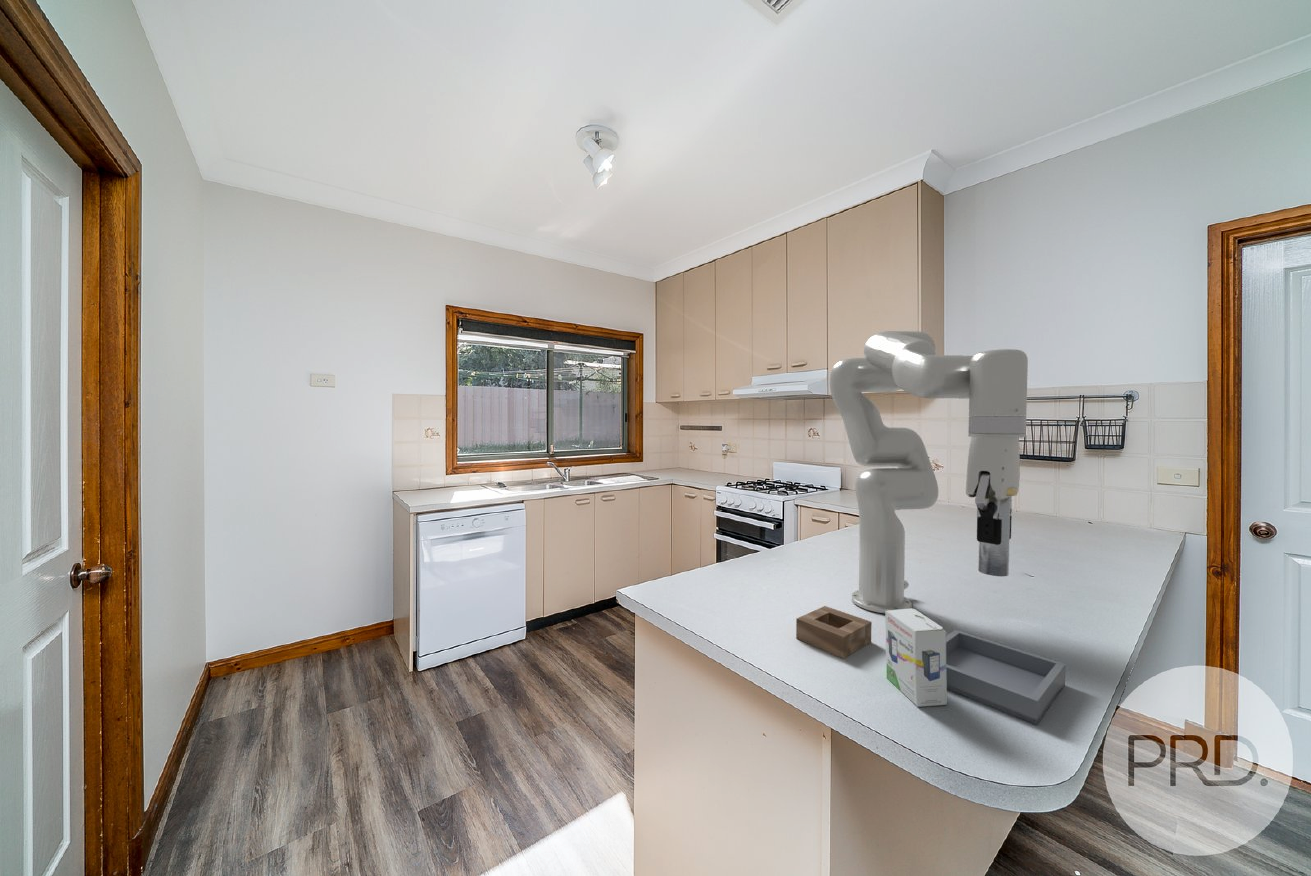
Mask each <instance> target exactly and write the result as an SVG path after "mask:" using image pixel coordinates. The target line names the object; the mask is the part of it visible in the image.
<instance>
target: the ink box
mask: <svg viewBox="0 0 1311 876" xmlns="http://www.w3.org/2000/svg"><path fill="white" fill-rule="evenodd" d="M885 612H886V614H885V656H886V657H885V660H886V661H885V664H886V665H885V666H886V679H887V680H888V681H890V683H891V684H893V686H895V687H896V688H897V689H898V690H899V691H900V692H901V693H902V694H904V696H905V697H907V698H908V699H909V700H910V701H911V702H912V703H913V704H914V705H916V708H917V707H932V706H945V705H946V706H947V705H948V698H947V697H948V693H947V692H948V691H947V690H948V689H947V678H946V636H947V631H946V630H945V629H944V628H943V627H942V625H939V624H938V623H937V622H935V621H934V620H932V619H931V618H929V617H928V616H925V615H924V614H923V613H921V612H920V611H919V610H917V609H915V608H911V609H898V610H886V611H885Z"/></svg>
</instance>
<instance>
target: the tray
mask: <svg viewBox="0 0 1311 876" xmlns="http://www.w3.org/2000/svg"><path fill="white" fill-rule="evenodd" d="M1066 666H1067V665H1066V663H1063V662H1060V661H1056V660H1054V659H1051V658H1047V657H1045V656H1042V655H1038V654H1035V653H1032V652H1029V651H1026V650H1022V649H1018V648H1015V647H1012V646H1010V645H1009V646H1008V645H1005V644H1002V643H1001V642H1000V643H999V642H996V641H993V640H990V639H987V638H984V637H980V636H977V635H974V634H971V633H967V632H964V631H961V630H958V629H954V630H953V631H951V632H950V633H948V634H946V678H947V690H949V691H952V692H954V693H955V694H958V695H962V696H963V697H966V698H968V699H971V700H973V701H976V702H978V703H981V704H983V705H986V706H989V707H991V708H993V709H995V710H998V711H1000V712H1003V713H1005V714H1008V715H1011V716H1012V717H1015V718H1018V719H1020V720H1022V721H1025V722H1028V723H1030V724H1032V725H1035V726H1037V725H1038V724H1039V723H1040V721H1041V720H1042V719H1043V717H1044V716H1045V714H1046V713H1047V712H1048V710H1049V708H1050V707H1051V706H1052V704H1053V703H1054V702H1055V700H1056V699H1057V697H1058V696H1059V695H1060V694H1061V692H1062V691H1063V689H1064V687H1065V686H1066Z"/></svg>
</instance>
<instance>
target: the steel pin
mask: <svg viewBox="0 0 1311 876" xmlns="http://www.w3.org/2000/svg"><path fill="white" fill-rule="evenodd" d="M977 490H978V487H977ZM976 492H977V491H976ZM1017 495H1018V493H1017V488H1012V489H1008V492H1007V495H1006V496H1012V497H1014V496H1017ZM988 498H990V499H996V497H994V495H988ZM989 503H990V502H989ZM991 504H992V506H993V509H994V503H991ZM999 519H1002V536H1001V544H999V545H995V544H990V543H984V542H979V541H978V567H977V568H978V569H977V570H978V572H979V573H981V574H983V575H987V576H993V577H994V576H995V577H1008V576H1009V574H1010V573H1009V571H1010V539H1009V537H1010V497H1008V498H1005V499H1003V500H1001V504H1000V515H999Z"/></svg>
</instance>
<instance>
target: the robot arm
mask: <svg viewBox="0 0 1311 876" xmlns="http://www.w3.org/2000/svg"><path fill="white" fill-rule="evenodd" d="M936 350H937V349H936V343H935V341H934V339H933V337H932V336H930V335H929V334H928V333H926V332H923V331H919V330H918V331H917V330H916V331H914V330H911V331H910V330H909V331H908V330H907V331H906V330H905V331H903V330H886V331H880V332H877V333H875V334H873V335H872V336H870V338H868V339H867V341H866V342H865V344H864V347H863V353H864V354H863V355H864V357H851V358H846V359H843V360H840V361H838V362H836V363H835V364H834V365H833V367H832V368H831V371H830V373H829V391H830V395H831V397H832V400H833V402H834V404H835V406H836V409H837V410H838V412H839V414H840V416H841V418H842V420H843V424H844V428H845V431H846V435H847V439H848V443H849V445H850V449H851V450H850V451H851V453H852V456H853V459H854V460H855V462H856V463H857V464H858V465H860V466H861V467H862V466H863V467H869V468H871V467H872V469H867V470H865V471H863V472H861V473H860V474H859V475H858V476H857V477H856V480H855V488H854V489H855V495H856V501H857V507H858V519H859V520H858V521H859V530H858V531H859V542H858V543H859V545H858V546H859V547H858V549H859V552H858V554H859V555H858V561H859V562H858V590H855V591H854V592H852V593H851V601H852V602H853V603H854V604H855V605H856V606H858V607H860V608H862V609H864V610H867V611H871V612H873V613H880V614H885V615H886V612H885V611H886V610H898V609H913V608H912V601H911V600H909V599H908V597H905V589H908V588H909V586H910V584H909V582H908V581H907V580H905V558H906V556H905V554H906V553H905V552H906V551H905V550H906V547H905V546H906V532H905V527H904V525H903V523H902V521H901V520H900V518H899V517H898V515H897V514H896V511H901V510H903V511H905V510H924V509H929V508H931V507H933V506H934V505H935V504H936V503H937V501H938V497H939V486H938V485H939V484H938V481H937V477H936V474H935V471H934V469H933V466H932V463H931V460H930V458H929V454H928V451H927V449H926V446H925V444H924V441H923V439H922V437H921V436H920V435H919V434H918V432H916V431H914V430H913V429H911V428H908V427H889V426H886V425H885V424H884V422H883V420H882V416H881V413H880V411H879V408H878V407H877V406H876V405H875V404H874V402H873V401H871V400H870V399H869V398H868V397H866V396H865V394H863V393H892V392H893V393H894V392H897V391H900V390H902V391H904V392H906V393H908V394H911V395H912V396H915V397H919V398H922V399H923V398H924V399H962V400H963V399H967V400H968V399H969V400H968V436H967V437H971V439H970V443H969V449H968V455H967V456H968V457H967V465H966V466H967V468H966V482H965V495H966V496H967V497H968V498H975V499H974V502H975V505H976V522H977V523H976V541H977V542H978V543H979V542H984V543H990V544H995V545H999V544H1001V536H1002V519H999V515H1000V504H1001V500H1003V499H1005V498H1008V497H1010V537H1009V540H1010V539H1011V538H1012V519H1013V518H1012V513H1013V512H1012V511H1013V509H1012V501H1013V499H1012V497H1013V496H1006V495H1007V492H1008V489H1012V488H1017V494H1018V492H1019V490H1020V489H1019V488H1020V479H1021V478H1020V475H1021V468H1020V467H1021V465H1020V464H1021V463H1020V462H1021V458H1020V449H1021V448H1020V440H1019V439H1020V438H1027V411H1028V410H1027V404H1028V403H1027V402H1028V367H1029V365H1028V364H1029V362H1028V361H1029V360H1028V358H1029V357H1028V356H1027V353H1026V352H1024V351H1023V350H1020V349H1015V348H1014V349H1009V348H1005V349H1003V348H1002V349H992V350H986V351H985V350H984V351H980V352H977V353H974V355H961V354H960V355H959V354H958V355H956V354H955V355H953V354H952V355H951V354H950V355H949V354H947V355H946V354H945V355H942V354H941V355H940V354H939V355H937V353H936ZM895 467H896V468H895ZM977 487H978V490H977ZM976 491H977V492H976ZM988 495H994V497H996V499H990V498H988ZM989 502H990V503H989ZM991 503H994V509H993V506H992V504H991Z"/></svg>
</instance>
